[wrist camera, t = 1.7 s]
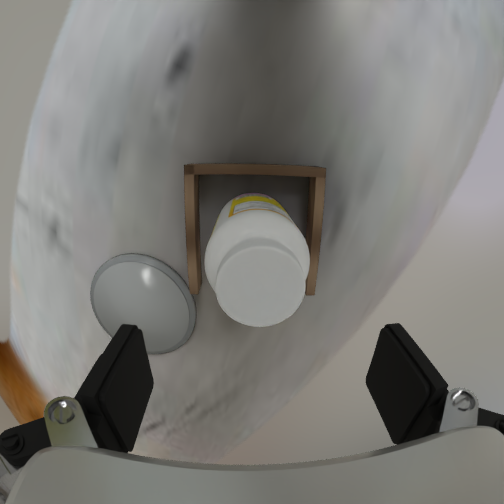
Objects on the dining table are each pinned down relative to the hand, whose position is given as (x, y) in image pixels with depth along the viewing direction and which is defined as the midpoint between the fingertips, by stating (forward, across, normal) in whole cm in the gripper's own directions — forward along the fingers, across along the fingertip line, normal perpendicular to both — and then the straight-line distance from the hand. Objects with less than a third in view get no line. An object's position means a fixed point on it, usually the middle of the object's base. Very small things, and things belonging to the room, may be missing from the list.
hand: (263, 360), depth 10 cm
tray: (+18, +12, +8) cm, 23 cm away
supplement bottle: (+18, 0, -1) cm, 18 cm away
